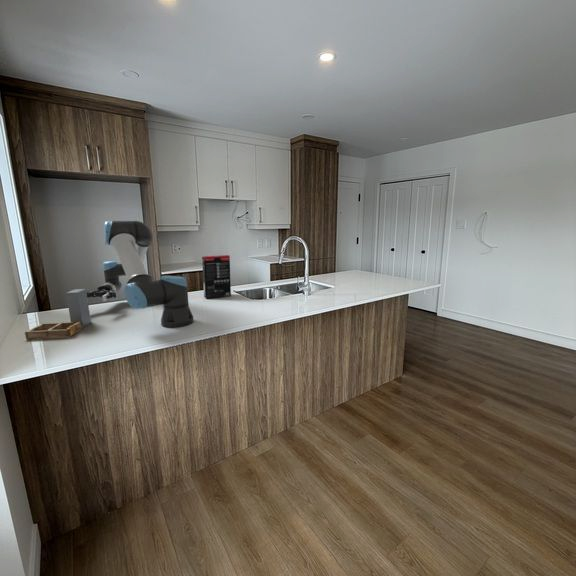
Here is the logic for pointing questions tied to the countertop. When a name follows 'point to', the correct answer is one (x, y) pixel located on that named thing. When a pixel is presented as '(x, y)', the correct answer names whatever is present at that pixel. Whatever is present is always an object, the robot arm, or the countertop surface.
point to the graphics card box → (216, 276)
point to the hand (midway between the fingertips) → (89, 299)
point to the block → (78, 306)
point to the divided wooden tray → (54, 330)
